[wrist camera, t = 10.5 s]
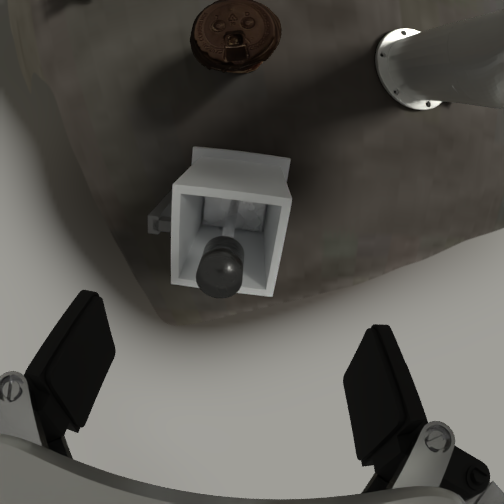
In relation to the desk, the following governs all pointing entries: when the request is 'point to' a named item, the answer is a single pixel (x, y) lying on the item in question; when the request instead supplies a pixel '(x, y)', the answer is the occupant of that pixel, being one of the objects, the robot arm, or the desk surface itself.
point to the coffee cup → (235, 35)
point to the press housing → (198, 234)
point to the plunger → (226, 245)
